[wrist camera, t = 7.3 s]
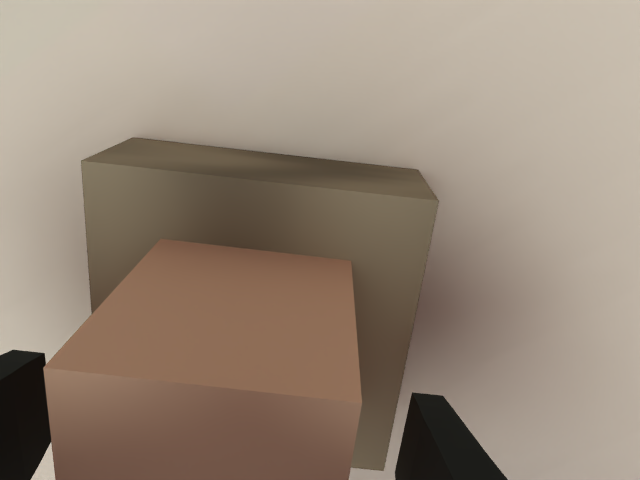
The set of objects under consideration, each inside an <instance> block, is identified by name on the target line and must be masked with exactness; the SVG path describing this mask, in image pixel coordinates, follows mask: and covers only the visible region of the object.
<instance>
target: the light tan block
mask: <svg viewBox="0 0 640 480" xmlns="http://www.w3.org/2000/svg"><path fill="white" fill-rule="evenodd" d="M43 370H44V379H45V388H46V397H47V406H48V415H49V424H50V433H51V443H52V452H53V461H54V470H55V479H56V480H348V479H349V474H350V468H351V463H352V457H353V451H354V446H355V440H356V435H357V429H358V423H359V418H360V412H361V407H362V395H361V382H360V369H359V356H358V343H357V330H356V317H355V304H354V290H353V277H352V264H351V261H349V260H341V259H332V258H323V257H315V256H306V255H297V254H289V253H280V252H271V251H262V250H254V249H245V248H236V247H228V246H219V245H210V244H202V243H193V242H184V241H176V240H167V239H160V240H159V241H158V242H157V243H156V244H155V245H154V247H153V248H152V249H151V250H150V251H149V252H148V253H147V254H146V255H145V256H144V258H143V259H142V260H141V261H140V262H139V263H138V264H137V265H136V266H135V267H134V269H133V270H132V271H131V272H130V273H129V274H128V275H127V276H126V277H125V278H124V280H123V281H122V282H121V283H120V284H119V285H118V286H117V287H116V288H115V289H114V291H113V292H112V293H111V294H110V295H109V296H108V297H107V298H106V299H105V300H104V301H103V303H102V304H101V305H100V306H99V307H98V308H97V309H96V310H95V311H94V312H93V314H92V315H91V316H90V317H89V318H88V319H87V320H86V321H85V322H84V323H83V325H82V326H81V327H80V328H79V329H78V330H77V331H76V332H75V333H74V334H73V336H72V337H71V338H70V339H69V340H68V341H67V342H66V343H65V344H64V345H63V347H62V348H61V349H60V350H59V351H58V352H57V353H56V354H55V355H54V356H53V358H52V359H51V360H50V361H49V362H48V363H47V364H46V365H45V366H44V367H43Z"/></svg>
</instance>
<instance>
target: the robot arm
mask: <svg viewBox="0 0 640 480" xmlns="http://www.w3.org/2000/svg"><path fill="white" fill-rule="evenodd" d="M45 365H46V362H45V353H38V352H29V351H19V350H12V351H9V352H7V353H5V354H2V355H0V480H31V478H32V476H33V475H34V473H35V471H36V469H37V467H38V466H39V464H40V462H41V460H42V458H43V456H44V454H45V452H46V450H47V448H48V446H49V444H50V442H51V433H50V424H49V415H48V406H47V397H46V388H45V379H44V370H43V367H44V366H45ZM395 478H396V480H508V479H507V478H506V477H505V476H504V474H503V473H502V472H501V471H500V470H499V468H498V467H497V466H496V465H495V463H494V462H493V461H492V460H491V458H490V457H489V456H488V454H487V453H486V452H485V451H484V449H483V448H482V447H481V445H480V444H479V443H478V441H477V440H476V439H475V437H474V436H473V435H472V434H471V432H470V431H469V430H468V428H467V427H466V426H465V424H464V423H463V422H462V420H461V419H460V417H459V416H458V415H457V413H456V412H455V411H454V410H453V408H452V407H451V406H450V404H449V403H448V402H447V400H446V399H445V398H444V396H440V395H430V394H421V393H412V396H411V400H410V405H409V410H408V414H407V419H406V424H405V428H404V433H403V437H402V442H401V447H400V451H399V456H398V461H397V465H396V470H395Z"/></svg>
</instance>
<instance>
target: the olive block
mask: <svg viewBox="0 0 640 480" xmlns="http://www.w3.org/2000/svg"><path fill="white" fill-rule="evenodd" d="M81 167H82V181H83V195H84V210H85V224H86V238H87V253H88V267H89V281H90V295H91V310H92V314H93V312H94V311H95V310H96V309H97V308H98V307H99V306H100V305H101V304H102V303H103V301H104V300H105V299H106V298H107V297H108V296H109V295H110V294H111V293H112V292H113V291H114V289H115V288H116V287H117V286H118V285H119V284H120V283H121V282H122V281H123V280H124V278H125V277H126V276H127V275H128V274H129V273H130V272H131V271H132V270H133V269H134V267H135V266H136V265H137V264H138V263H139V262H140V261H141V260H142V259H143V258H144V256H145V255H146V254H147V253H148V252H149V251H150V250H151V249H152V248H153V247H154V245H155V244H156V243H157V242H158V241H159V240H160V239H167V240H176V241H184V242H193V243H202V244H210V245H219V246H228V247H236V248H245V249H254V250H262V251H271V252H280V253H289V254H297V255H306V256H315V257H323V258H332V259H341V260H349V261H351V264H352V277H353V290H354V304H355V317H356V330H357V343H358V356H359V369H360V382H361V395H362V407H361V412H360V418H359V423H358V429H357V435H356V440H355V446H354V451H353V457H352V463H351V468H361V469H370V470H380V471H384V467H385V462H386V457H387V452H388V447H389V442H390V437H391V432H392V427H393V423H394V418H395V413H396V408H397V403H398V398H399V393H400V388H401V383H402V379H403V374H404V369H405V364H406V359H407V354H408V349H409V344H410V339H411V335H412V330H413V325H414V320H415V315H416V310H417V305H418V300H419V295H420V290H421V286H422V281H423V276H424V271H425V266H426V261H427V256H428V251H429V246H430V242H431V237H432V232H433V227H434V222H435V217H436V212H437V207H438V202H439V200H438V199H437V198H436V196H435V195H434V193H433V192H432V190H431V189H430V187H429V186H428V184H427V183H426V181H425V180H424V178H423V177H422V175H421V174H420V172H419V171H418V170H414V169H405V168H397V167H388V166H379V165H370V164H361V163H352V162H344V161H335V160H326V159H317V158H308V157H299V156H290V155H282V154H273V153H264V152H255V151H246V150H237V149H228V148H220V147H211V146H202V145H193V144H184V143H175V142H167V141H158V140H149V139H140V138H131V139H129V140H126V141H124V142H122V143H120V144H117V145H115V146H113V147H111V148H108V149H106V150H104V151H102V152H100V153H97V154H95V155H93V156H91V157H88V158H86V159H84V160H82V161H81Z"/></svg>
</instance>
